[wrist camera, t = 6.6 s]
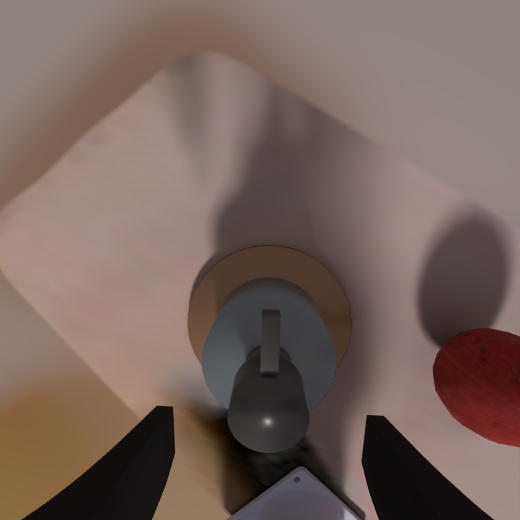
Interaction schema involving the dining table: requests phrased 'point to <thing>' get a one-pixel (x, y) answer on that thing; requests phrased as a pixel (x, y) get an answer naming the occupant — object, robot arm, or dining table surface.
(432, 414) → the dining table surface
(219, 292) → the dispenser
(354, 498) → the dining table surface
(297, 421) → the pump head
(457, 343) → the red round fruit
